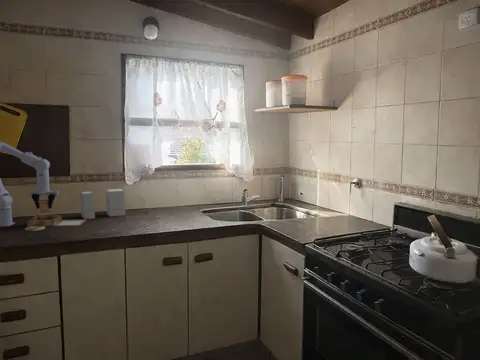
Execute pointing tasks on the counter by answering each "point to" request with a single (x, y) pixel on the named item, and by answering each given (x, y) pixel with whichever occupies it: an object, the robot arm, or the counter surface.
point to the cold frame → (44, 220)
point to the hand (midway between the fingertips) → (44, 208)
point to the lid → (70, 223)
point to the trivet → (34, 228)
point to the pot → (44, 206)
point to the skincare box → (87, 205)
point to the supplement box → (115, 202)
